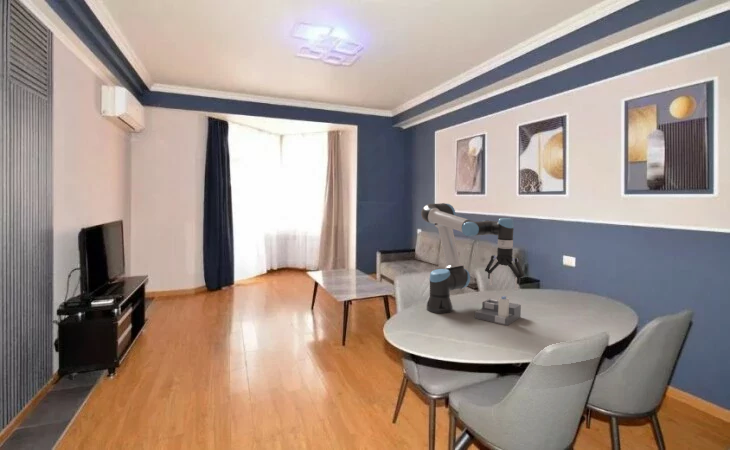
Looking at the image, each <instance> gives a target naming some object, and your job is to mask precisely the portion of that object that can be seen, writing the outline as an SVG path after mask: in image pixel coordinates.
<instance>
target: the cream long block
mask: <svg viewBox="0 0 730 450" xmlns="http://www.w3.org/2000/svg"><path fill="white" fill-rule="evenodd" d="M498 301H499V302H498V316H501V317H506V318H507V317H508V316H509V303H510V298H508V297H507V296H505V295H502V296H501V297H499V298H498Z"/></svg>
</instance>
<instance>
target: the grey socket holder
mask: <svg viewBox="0 0 730 450" xmlns="http://www.w3.org/2000/svg"><path fill="white" fill-rule="evenodd" d="M498 302H499V299H498V300H497V299H493V298H492V299H491V298H489V299H486V300H484V301H482V307H481V308H480V309H478V310H476V311H474V319H478V320H483V321H485V320H486V321H487V322H490V323H495V324H498V325H499V324H500V325H503V326H510V324H512V323H514V322H515V321H517V320H518V319H520V318H521V316H522V315H521V309H522V304H518V303H513V302H509V316H508V317H507V318H506V317H501V316H498ZM486 321H485V322H486Z"/></svg>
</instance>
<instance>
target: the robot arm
mask: <svg viewBox="0 0 730 450" xmlns="http://www.w3.org/2000/svg"><path fill="white" fill-rule="evenodd" d="M420 215H421V218H422V219H423V221H425V222H426V223H429V224H433V225H434V227H435V228H437V229H438V230H437V231H438V235H439V238H440V243H441V247H442V251H443V255H444V256H443V257H444V262H445V268H438V269H434V270H432V271H431V272H430V274H429V297H428V300H427V303H426V310H427V311H428V310H429V311H428V312H430V311H431V313H434V312H436V313H435V314H447V312H449V313H451V312H453V304H452V300H451V296H450V295H451V294H450V293H451V291H456V290H462V289H465V288H467V287H468V286H469V284H470V283H471V274H470V272H469V271H468V270H467V269H466V268H465V267H464V264H463V263H462V262H461V260H460V256H459V251H458V247H457V243H456V238H455V233H454V230H455V231H457V232H461V233H462V234H463V235H465V236H466V237H478V236H479V237H480V236H497V251H496V253H497V255H495V254H493V255H491V256H490V260H489V262H488V264H487V265H486V267H485V269H484V272H486V273H487V274H488V275H487V278H488V280H489V283H488V284H489V286H493V285H494V271H495V269H497V268H498V267H499V266H500V265H501V266H505V267H507V266H508V267H509V269H511V271H512V273H513V274H514V275H515V276H516V277H515V278H514V291H518V290H519V285H520V284H521V278H524V277H525V275H526V274H525V273H524V270H523V268H522V266H521V264H520V259H519V257H516V258H514V257H513V255H514V253H513V252H514V251H513V248H514V229H515V223H514V222H515V221H514V219H513V218H510V217H508V218H507V217H501V218H499V219H498V221H497V220H496V221H495V220H488V219H485V220H481V221H480V220H479V221H475V220H471V219H468V218H465V217H461V216H458V215H456V209H455V208H454V206H453V205H451V204H450V203H445V202H443V203H440V202H439V203H428V204H427V203H426V204H425V205H424V206H423V207H422V209H421V213H420ZM495 260H497V261H496V263H494V262H495ZM493 263H494V265H493ZM492 265H493V266H492Z"/></svg>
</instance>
